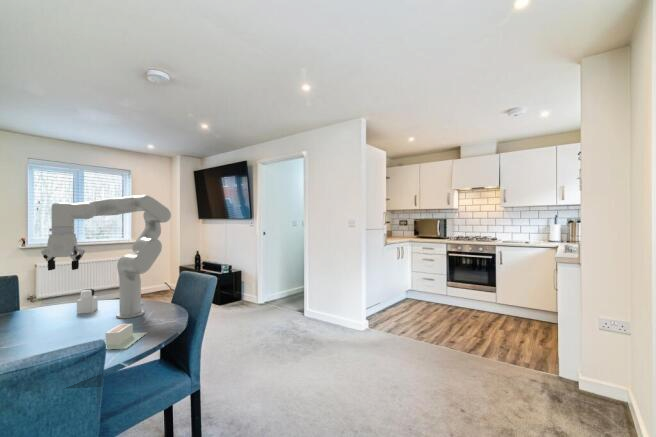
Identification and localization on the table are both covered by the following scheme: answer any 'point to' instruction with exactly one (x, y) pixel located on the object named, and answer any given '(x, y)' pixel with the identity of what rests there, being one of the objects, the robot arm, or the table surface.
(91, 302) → the medicine bottle
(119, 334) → the cream rectangular box
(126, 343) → the mat
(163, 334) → the table surface
